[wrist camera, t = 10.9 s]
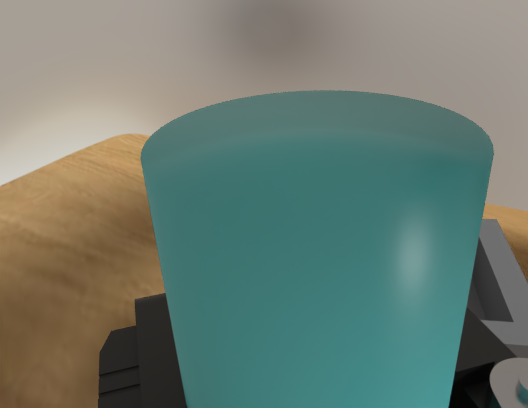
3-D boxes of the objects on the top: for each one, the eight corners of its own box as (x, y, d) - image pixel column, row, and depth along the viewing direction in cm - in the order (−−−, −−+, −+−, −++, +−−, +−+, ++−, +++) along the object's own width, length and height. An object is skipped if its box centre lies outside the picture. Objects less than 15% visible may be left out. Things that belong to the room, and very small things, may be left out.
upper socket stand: (320, 371, 27) (320, 213, 22) (463, 384, 26) (496, 219, 21) (308, 510, 20) (304, 328, 16) (500, 536, 19) (559, 347, 14)
